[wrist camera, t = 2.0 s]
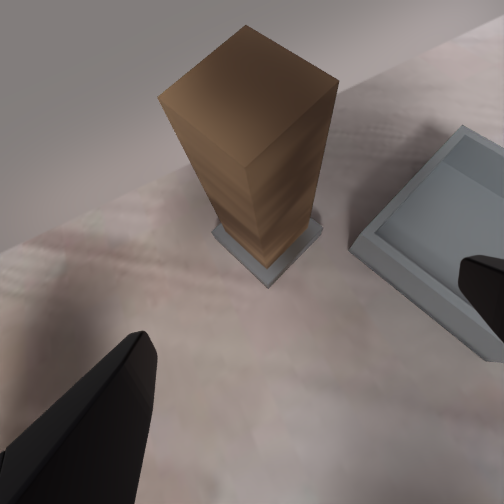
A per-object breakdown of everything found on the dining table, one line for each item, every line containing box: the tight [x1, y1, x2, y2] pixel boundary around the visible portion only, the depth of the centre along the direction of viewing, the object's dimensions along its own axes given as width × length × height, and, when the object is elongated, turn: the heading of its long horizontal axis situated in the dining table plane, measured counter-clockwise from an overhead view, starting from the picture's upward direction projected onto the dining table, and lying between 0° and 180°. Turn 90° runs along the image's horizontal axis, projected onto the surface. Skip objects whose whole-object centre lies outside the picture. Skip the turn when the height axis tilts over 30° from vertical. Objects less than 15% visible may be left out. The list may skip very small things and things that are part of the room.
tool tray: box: [348, 125, 504, 363], centre depth 19 cm, size 11×11×4 cm
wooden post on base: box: [158, 25, 339, 289], centre depth 16 cm, size 6×6×14 cm
